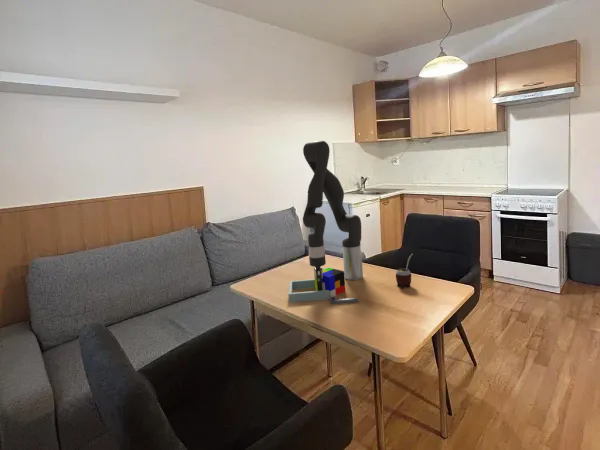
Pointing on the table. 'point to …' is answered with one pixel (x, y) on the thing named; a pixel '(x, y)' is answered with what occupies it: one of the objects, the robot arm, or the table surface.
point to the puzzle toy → (332, 281)
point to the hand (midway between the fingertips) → (319, 287)
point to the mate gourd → (404, 276)
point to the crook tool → (344, 300)
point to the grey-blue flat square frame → (306, 295)
